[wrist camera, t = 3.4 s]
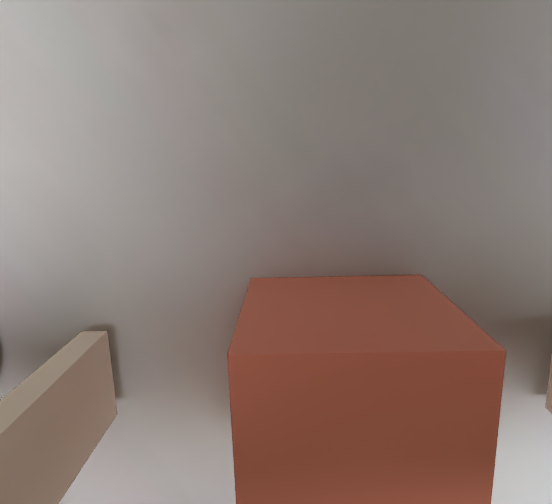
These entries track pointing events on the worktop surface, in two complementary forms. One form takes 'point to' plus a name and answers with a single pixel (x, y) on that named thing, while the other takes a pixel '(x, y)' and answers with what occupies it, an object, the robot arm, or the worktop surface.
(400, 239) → the worktop surface
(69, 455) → the robot arm
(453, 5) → the worktop surface
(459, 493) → the salmon red cube
